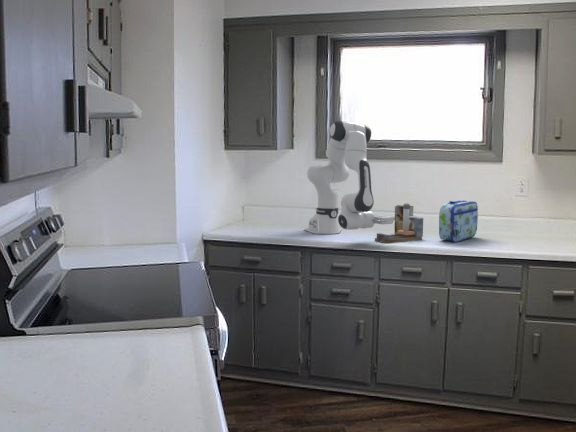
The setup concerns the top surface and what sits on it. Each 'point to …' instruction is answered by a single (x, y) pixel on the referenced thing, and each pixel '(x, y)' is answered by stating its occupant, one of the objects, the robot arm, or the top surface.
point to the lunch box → (458, 220)
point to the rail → (414, 225)
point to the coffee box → (400, 217)
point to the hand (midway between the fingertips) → (387, 217)
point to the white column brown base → (406, 221)
